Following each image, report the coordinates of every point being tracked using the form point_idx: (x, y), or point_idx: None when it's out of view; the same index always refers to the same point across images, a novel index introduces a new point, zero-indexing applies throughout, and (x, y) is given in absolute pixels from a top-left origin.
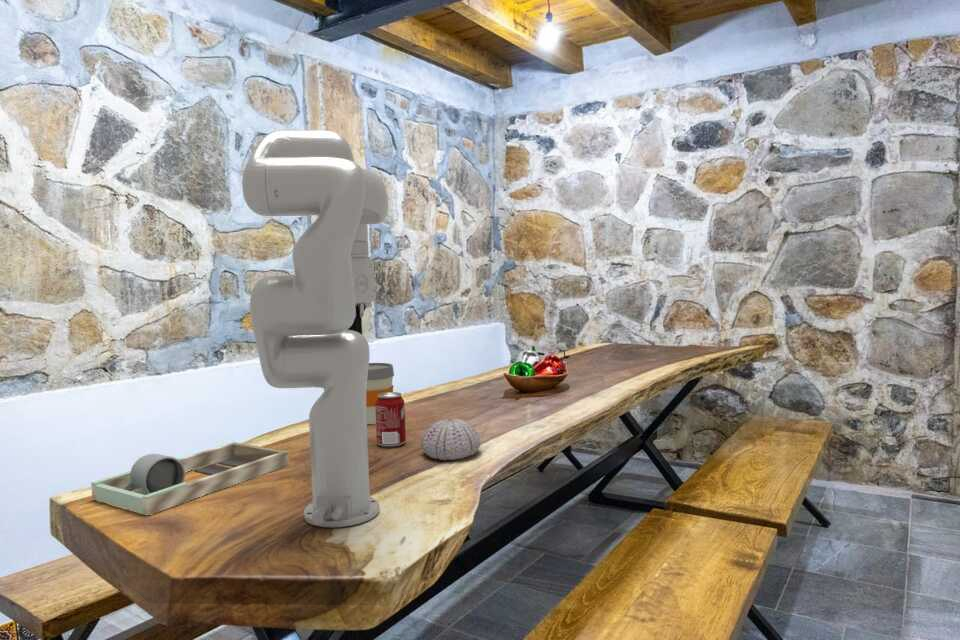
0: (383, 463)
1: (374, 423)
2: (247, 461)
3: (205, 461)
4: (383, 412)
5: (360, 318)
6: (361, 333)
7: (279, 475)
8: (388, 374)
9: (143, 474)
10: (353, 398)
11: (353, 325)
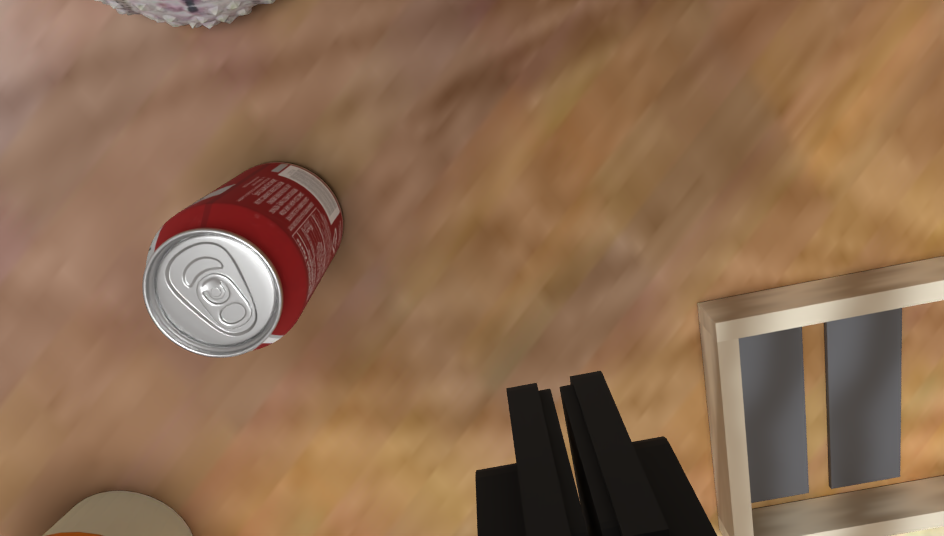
0: (473, 34)
1: (153, 501)
2: (755, 432)
3: (855, 503)
4: (307, 238)
5: (558, 534)
6: (521, 392)
7: (789, 230)
8: None
9: None
10: None
11: (656, 490)
